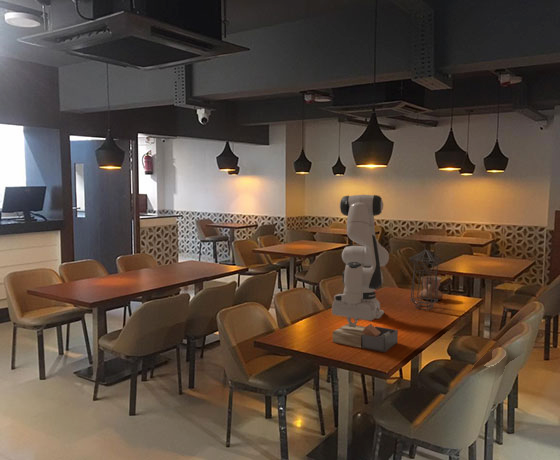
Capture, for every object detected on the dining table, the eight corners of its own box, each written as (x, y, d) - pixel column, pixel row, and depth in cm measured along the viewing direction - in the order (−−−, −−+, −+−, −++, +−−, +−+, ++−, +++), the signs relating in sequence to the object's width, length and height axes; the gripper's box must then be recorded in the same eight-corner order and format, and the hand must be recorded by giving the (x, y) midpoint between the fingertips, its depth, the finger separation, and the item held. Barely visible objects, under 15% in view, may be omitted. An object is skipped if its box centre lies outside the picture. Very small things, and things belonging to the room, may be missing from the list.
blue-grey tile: (388, 331, 221) (392, 337, 220) (378, 336, 224) (381, 342, 223) (384, 334, 216) (387, 340, 215) (373, 339, 219) (376, 346, 218)
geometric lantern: (406, 308, 292) (408, 249, 290) (417, 304, 304) (419, 248, 302) (432, 312, 282) (434, 251, 280) (442, 307, 294) (444, 249, 292)
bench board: (347, 333, 238) (347, 323, 238) (374, 338, 230) (374, 328, 230) (332, 342, 225) (332, 331, 224) (360, 347, 217) (361, 336, 217)
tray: (375, 338, 230) (375, 326, 230) (397, 342, 224) (397, 330, 224) (361, 347, 217) (361, 334, 216) (384, 352, 211) (385, 338, 211)
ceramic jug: (421, 295, 327) (421, 274, 325) (444, 297, 321) (444, 276, 319) (416, 301, 310) (417, 279, 309) (440, 303, 304) (441, 281, 303)
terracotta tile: (367, 328, 226) (370, 323, 225) (377, 337, 223) (381, 332, 222) (362, 331, 221) (365, 326, 220) (372, 340, 218) (376, 336, 217)
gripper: (377, 299, 223) (376, 328, 225) (336, 293, 234) (335, 322, 236) (371, 301, 218) (371, 332, 219) (330, 296, 229) (330, 325, 230)
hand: (352, 326), depth 228 cm, fingers closed
